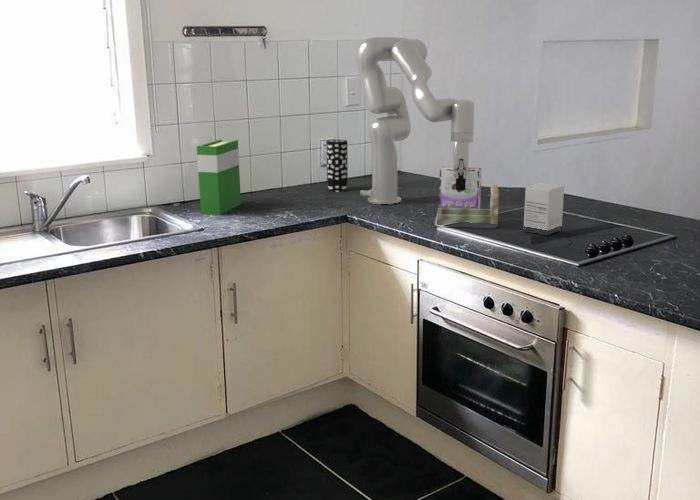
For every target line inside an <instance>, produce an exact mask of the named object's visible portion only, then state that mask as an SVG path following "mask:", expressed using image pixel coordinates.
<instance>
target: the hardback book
mask: <svg viewBox="0 0 700 500" xmlns="http://www.w3.org/2000/svg"><path fill="white" fill-rule="evenodd" d="M222 140H223V139H217V140H214V141H213V140H212V141H210V142H207V143H204V144H200V145H197V146H196V153H197V154H196V155H197V171H198V172H197V173H198V188H199V203H200V214H203V215H206V214H207V215H217V216H218V215H219V216H220V215H223V214H225V213H226V212H229V211H231V210H232V209H234V208H236V207H238V206H240V205H242V200H241V199H242V197H241V176H240V157H239V156H240V155H239V140H238V139H235V140H231V141H222Z"/></svg>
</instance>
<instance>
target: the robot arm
mask: <svg viewBox="0 0 700 500" xmlns="http://www.w3.org/2000/svg"><path fill="white" fill-rule="evenodd" d="M355 55H356V56H355V61H356V67H357V69H358V71H359V75H360V78H361V83H362V89H363V92H364V93H363V94H364V97H365V100H366V101H365V102H366V106H367V108H368V111H370V113H372V114H375V115H382V114H383V115H384V114H386V116H381V117H378V118H376V119H375V120H373V121H372V122H371V124H370V125H369V131H368V132H369V139H370V146H371V189H368V190H366V189H365V190H361V189H360V191H359V193H360V194H359V195H360V196H362V197H368V198H367V202H368V203H370V204H372V205H373V204H374V205H381V204H388V205H394V204H393V203H397V204H400V203H401V202H402V198H401V197H400V196H398V151H397V148H396V145H395V142H400V141H403V140H406V139H408V137H409V136H410V133H411V131H412V129H411V128H412V125H411V120H410V115H409V109H408V106H407V102H406V98H405V95H404V93H403V92H402V91H401V89H399V88H398V87H396V86H388V85H387V82H386V77H385V73H384V71H383V69H382V67H380V65H379V62H395V63H396V65H397V66H398V67H399V70H400V71H401V72H402V74H403V75H404V76H405V78H406V79H407V81H408V82H409V83H410V85H411V94H412V99H413V102H414V104H415V106H416V108H417V109H418V111H419V112H420V113H421V115H422V116H423V117H424V118H425V119H426V120H427V121H429V122H432V123H439V122H447V121H450V122H451V124H450V142H451V143H453V148H452V150H453V151H452V167H453V171H455V170H457V178H456V190H465V180H466V179H465V171H467V167H468V165H469V158H470V156H469V155H470V143H473V142H474V124H475V121H474V120H475V119H474V118H475V104H474V101H472V100H468V99H467V100H466V99H462V100H461V99H460V100H459V99H455V98H449V97H448V98H439V99H438V98H437V99H436V98H435V96H434V95H433V92H432V91H431V90H430V89H429V85H428V81H429V80H430V79H431V77H432V74H433V71H432V68H431V67H430V66H429V65H428V63H427V62H426V59H427V57H428V49H427V46H426V44H425V43H424V42H423V41H422V40H420V39H415V38H413V39H412V38H403V37H395V36H374V37H368V38H366V39H365V40H363V41H362V42H361V43H360V44H359V45H358V47H357V50H356V54H355ZM458 169H459V170H458ZM463 169H464V170H463ZM458 175H459V176H458ZM399 202H400V203H399Z"/></svg>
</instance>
